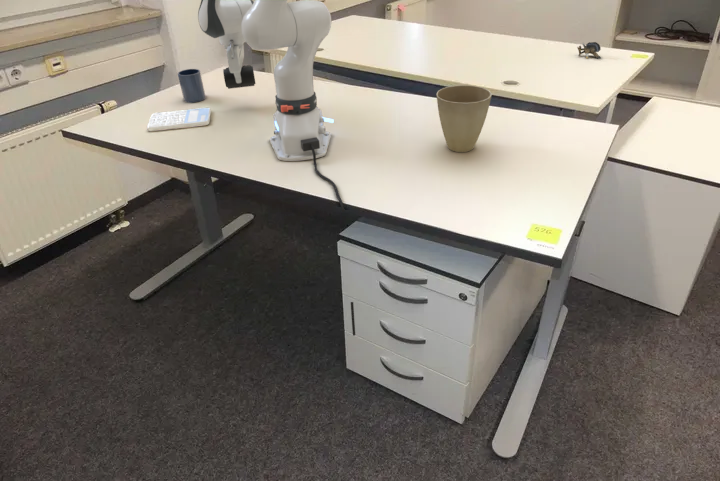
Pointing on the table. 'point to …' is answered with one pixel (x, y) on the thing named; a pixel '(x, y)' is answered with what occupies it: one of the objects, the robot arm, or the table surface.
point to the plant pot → (462, 114)
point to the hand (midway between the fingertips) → (239, 78)
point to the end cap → (246, 77)
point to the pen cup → (191, 85)
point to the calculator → (179, 119)
